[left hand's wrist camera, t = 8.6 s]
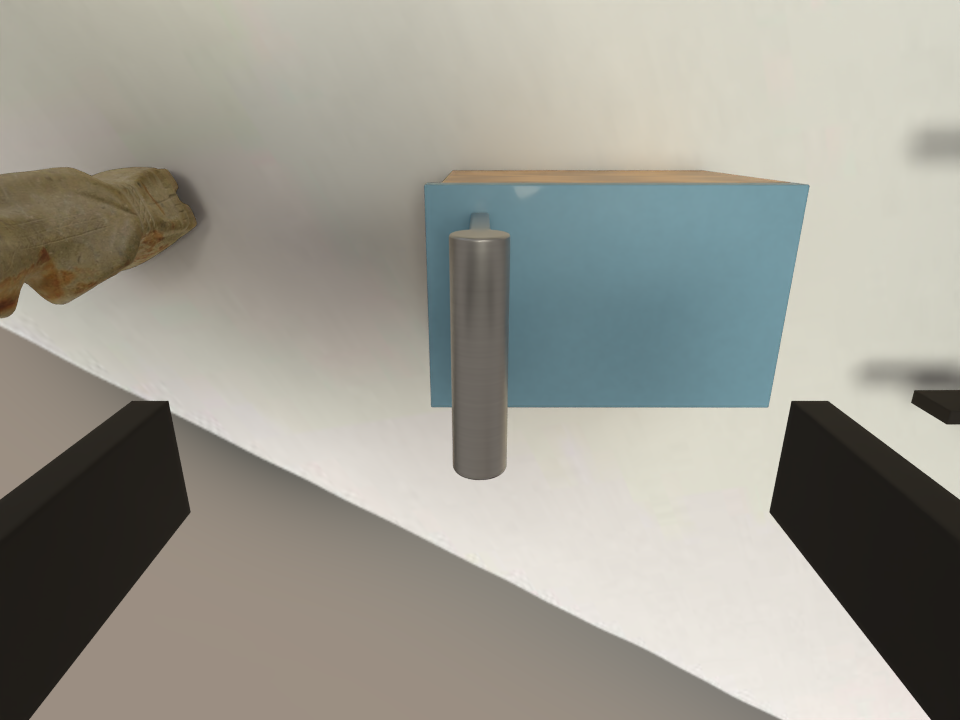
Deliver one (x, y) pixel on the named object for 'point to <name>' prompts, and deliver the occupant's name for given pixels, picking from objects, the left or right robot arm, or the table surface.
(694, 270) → the lid
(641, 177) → the chest
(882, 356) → the table surface
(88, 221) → the sculpture
